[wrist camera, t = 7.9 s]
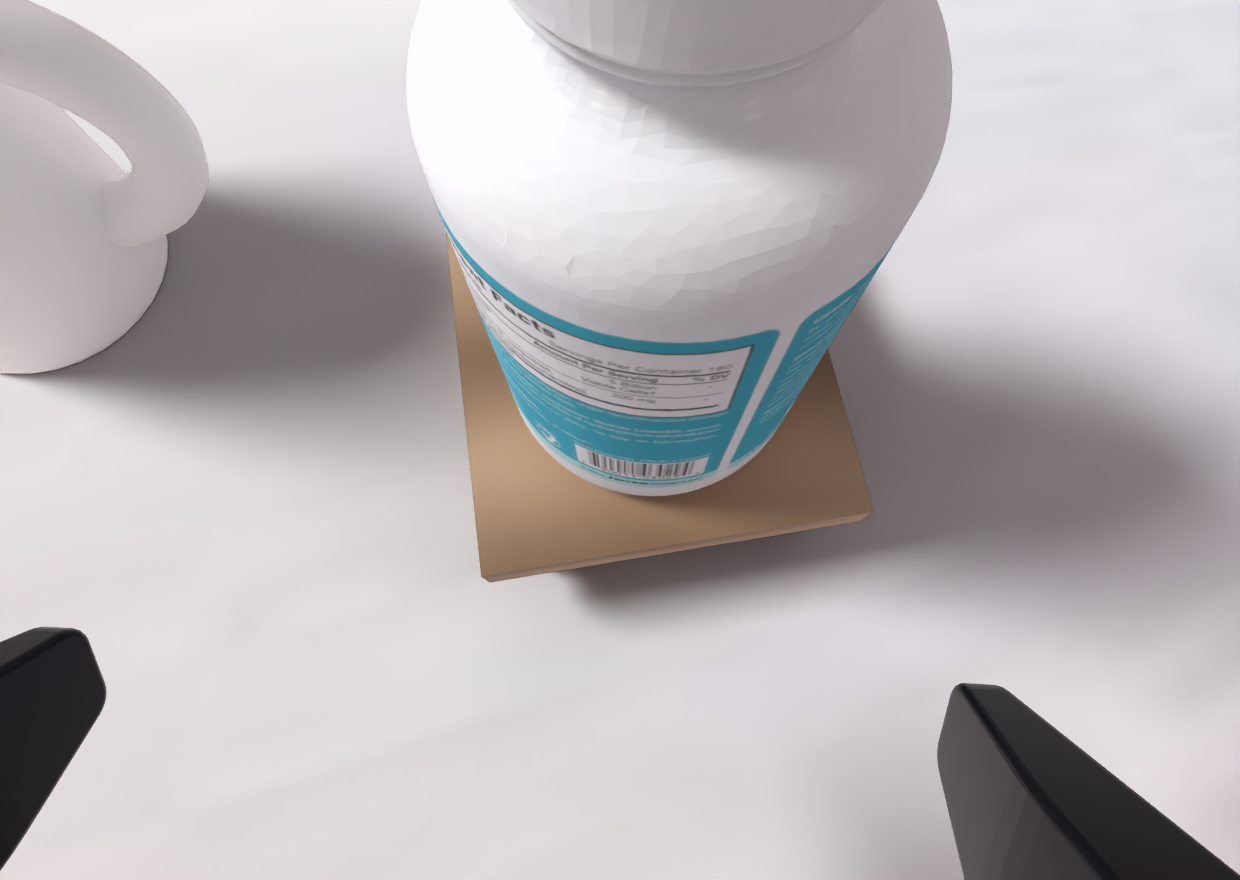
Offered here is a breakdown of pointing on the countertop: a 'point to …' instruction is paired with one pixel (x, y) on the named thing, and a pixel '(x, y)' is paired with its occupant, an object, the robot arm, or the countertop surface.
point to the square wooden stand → (631, 524)
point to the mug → (83, 189)
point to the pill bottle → (672, 204)
